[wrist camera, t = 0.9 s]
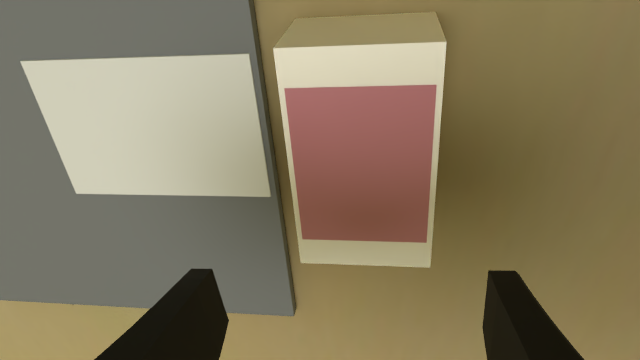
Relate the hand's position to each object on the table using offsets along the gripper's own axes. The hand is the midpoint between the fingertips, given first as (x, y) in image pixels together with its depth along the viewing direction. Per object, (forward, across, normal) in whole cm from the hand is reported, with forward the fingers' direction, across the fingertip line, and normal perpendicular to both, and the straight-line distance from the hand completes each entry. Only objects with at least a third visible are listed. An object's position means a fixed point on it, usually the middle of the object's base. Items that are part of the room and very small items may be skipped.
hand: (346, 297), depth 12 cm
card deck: (+9, 0, -1) cm, 9 cm away
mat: (+8, +13, -2) cm, 15 cm away
